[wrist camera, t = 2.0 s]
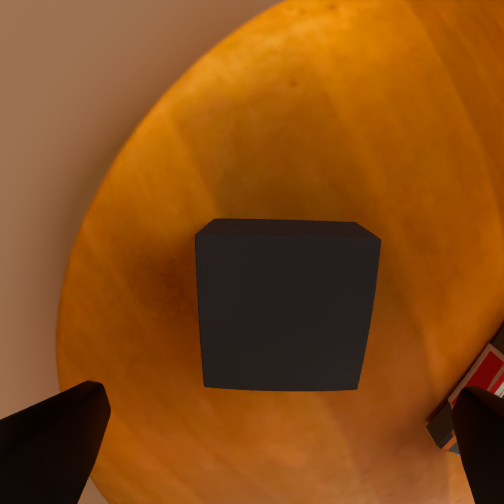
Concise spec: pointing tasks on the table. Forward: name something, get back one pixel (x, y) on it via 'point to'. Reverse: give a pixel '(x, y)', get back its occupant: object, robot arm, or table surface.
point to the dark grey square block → (284, 303)
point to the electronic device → (481, 374)
